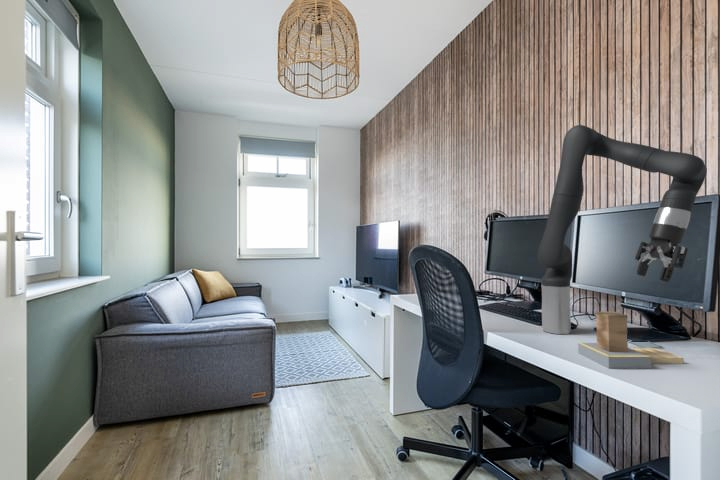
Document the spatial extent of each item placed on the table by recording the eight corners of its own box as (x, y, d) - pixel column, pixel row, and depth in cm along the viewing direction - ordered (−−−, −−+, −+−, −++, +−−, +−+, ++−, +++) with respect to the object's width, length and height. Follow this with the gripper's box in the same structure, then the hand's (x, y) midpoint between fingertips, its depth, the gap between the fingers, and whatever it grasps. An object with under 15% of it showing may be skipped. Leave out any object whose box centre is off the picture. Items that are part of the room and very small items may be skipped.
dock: (578, 352, 102) (578, 342, 102) (615, 352, 102) (615, 342, 102) (608, 368, 89) (608, 356, 89) (651, 368, 89) (651, 356, 89)
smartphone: (642, 347, 106) (606, 334, 121) (642, 351, 106) (606, 336, 121) (665, 347, 106) (627, 333, 121) (665, 350, 106) (627, 336, 121)
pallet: (619, 352, 103) (619, 347, 103) (652, 352, 102) (652, 346, 102) (646, 363, 93) (646, 357, 93) (683, 363, 92) (683, 357, 92)
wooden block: (596, 346, 99) (595, 311, 99) (614, 346, 98) (614, 311, 99) (608, 352, 93) (608, 315, 94) (628, 352, 93) (627, 315, 93)
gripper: (638, 221, 107) (622, 270, 108) (678, 222, 92) (658, 279, 94) (662, 227, 106) (645, 276, 108) (705, 229, 92) (686, 286, 94)
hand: (651, 278), depth 101 cm, fingers open, 8 cm apart
